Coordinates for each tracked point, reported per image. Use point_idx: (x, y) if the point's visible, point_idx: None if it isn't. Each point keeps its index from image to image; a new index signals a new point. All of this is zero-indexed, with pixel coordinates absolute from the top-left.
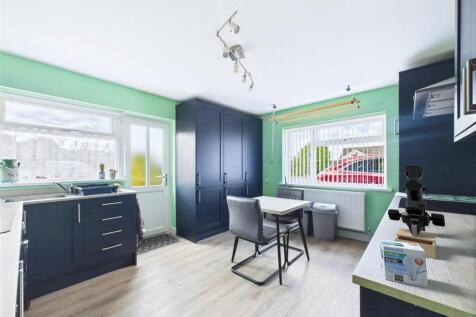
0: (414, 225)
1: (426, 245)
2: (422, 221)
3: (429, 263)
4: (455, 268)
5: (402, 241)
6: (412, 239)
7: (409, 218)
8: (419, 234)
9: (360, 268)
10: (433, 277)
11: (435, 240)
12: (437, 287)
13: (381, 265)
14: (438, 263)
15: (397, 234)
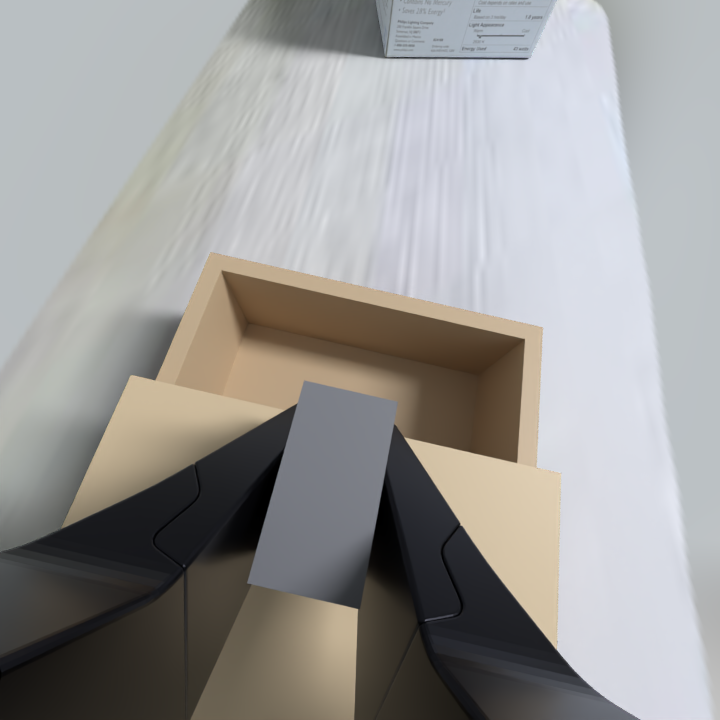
0: (319, 506)
1: (274, 269)
2: (2, 563)
3: (306, 223)
4: (182, 212)
5: (470, 318)
6: None
7: (481, 716)
8: (244, 632)
9: (608, 47)
10: (334, 75)
11: (120, 414)
12: (342, 12)
13: (544, 21)
14: (252, 247)
15: (541, 469)
